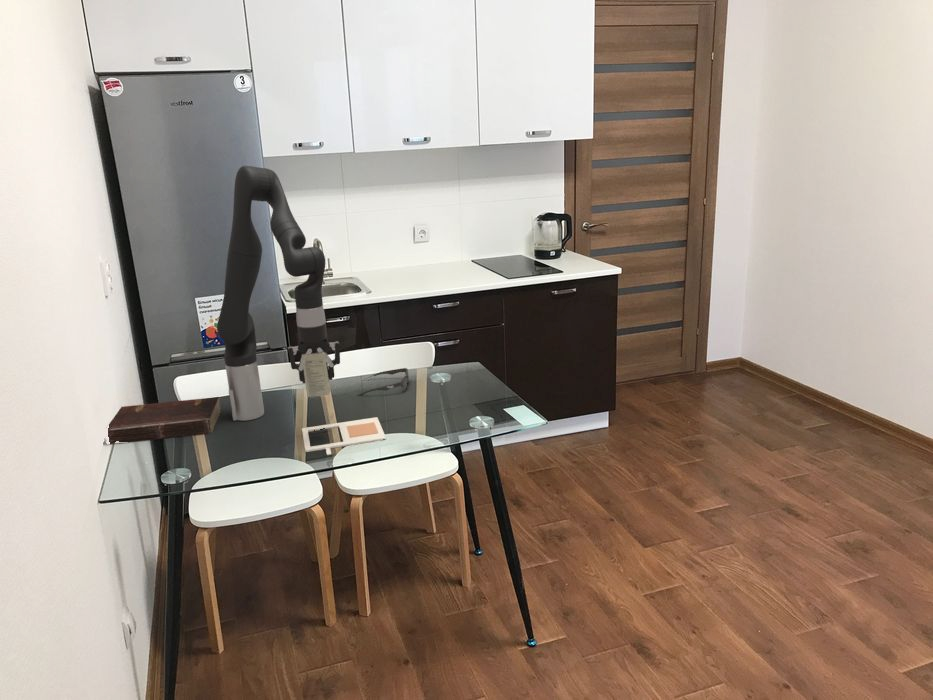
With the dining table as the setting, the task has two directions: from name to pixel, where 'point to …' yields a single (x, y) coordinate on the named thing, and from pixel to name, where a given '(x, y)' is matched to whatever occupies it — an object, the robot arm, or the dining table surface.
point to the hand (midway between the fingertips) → (317, 380)
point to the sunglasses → (402, 384)
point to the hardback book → (164, 420)
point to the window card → (348, 433)
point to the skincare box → (316, 374)
